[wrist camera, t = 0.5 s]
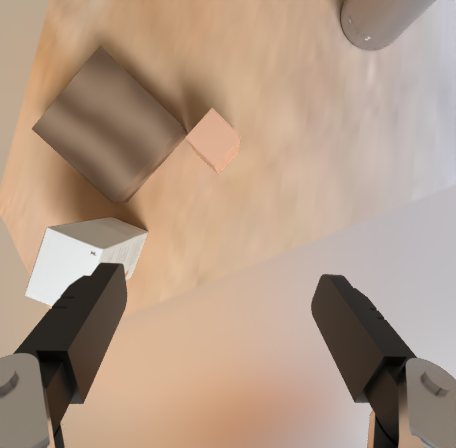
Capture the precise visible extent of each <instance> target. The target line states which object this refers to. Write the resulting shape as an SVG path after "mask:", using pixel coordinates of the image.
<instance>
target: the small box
mask: <svg viewBox="0 0 456 448" xmlns="http://www.w3.org/2000/svg"><path fill="white" fill-rule="evenodd" d="M147 235H148V231H145V230H143V229H140V228H138V227H136V226H133V225H131V224H128V223H126V222H123V221H121V220H118V219H116V218H114V217H108V218H101V219H94V220H88V221H82V222H76V223H70V224H64V225H57V226H51V227H47V228H46V231H45V234H44V237H43V240H42V243H41V246H40V249H39V253H38V256H37V259H36V262H35V265H34V268H33V271H32V274H31V277H30V280H29V283H28V286H27V290H26V292H25V295H26V296H28V297H31V298H33V299H35V300H38V301H40V302H43V303H45V304H48V305H50V306H53V305H54V303H55V302H56V301H57V300H58V299H60V296H61V295H62V294H63V292H64V291H65V290H66V289H67V287H68V286H69V285H70V284H72V283H73V282H75V281H76V280H77V279H79V278H80V277H82V276H83V275H87V276H91V274H92V273H93V271H94V270H95V269H96V267H97V266H98V265H99V264H100V263H101V262H104V263H122V264H123V265H124V270H125V279H126V280H127V279H129V278H130V277H131V276H132V274H133V272H134V269H135V267H136V264H137V261H138V259H139V256H140V253H141V251H142V248H143V245H144V243H145V240H146V237H147Z"/></svg>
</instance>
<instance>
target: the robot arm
mask: <svg viewBox="0 0 456 448" xmlns="http://www.w3.org/2000/svg"><path fill="white" fill-rule="evenodd" d="M435 1H436V0H345V1H344V4H343V6H342V11H341V23H342V28H343V31H344V33H345V35H346V36H347V38H348V39H349V40H350V41H351V42H352V43H353V44H354V45H356V46H358V47H359V48H362V49H366V50H376V49H381V48H383V47H386V46H388V45H389V44H390V43H392V42H393V41H394V40H395V39H396V38H397V37H398V36H399V35H400V34H401V33H403V32H404V31H405V30H406V29H407V28H408V27H409V26H410V25H411V24H412V23H413V22H414V21H415V20H416V19H417V18H418V17H419V16H420V15H421V14H422V13H423V12H424V11H425V10H426V9H427V8H428V7H430V6H431V5H432V4H433V3H434V2H435ZM126 302H127V288H126V279H125V270H124V265H123V264H122V263H104V262H101V263H100V264H99V265H98V266H97V267H96V269H95V270H94V271H93V273H92V274H91V276H87V275H83V276H82V277H80V278H79V279H77V280H76V281H75V282H73V283H72V284H70V285H69V286H68V287H67V289H66V290H65V291H64V292H63V294H62V295H61V296H60V299H58V300H57V301H56V302H55V303H54V305H53V306H52V309H50V310H49V311H48V312H47V313H46V314H45V316H44V317H43V318H42V320H41V321H40V322H39V323H38V324H37V326H36V327H35V328H34V329H33V331H32V332H31V333H30V334H29V335H28V337H27V338H26V339H25V340H24V342H23V343H22V344H21V345H20V346H19V348H18V349H17V350H16V351H15V352H14V353H13V354H12V355H8V356H5V357H2V358H0V448H67V445H66V439H65V434H64V429H63V423H62V418H63V416H64V414H65V412H66V410H67V408H68V406H69V404H83V403H84V401H85V399H86V396H87V394H88V392H89V390H90V387H91V385H92V383H93V381H94V378H95V376H96V374H97V371H98V369H99V367H100V365H101V362H102V360H103V358H104V356H105V353H106V351H107V349H108V346H109V344H110V342H111V339H112V337H113V335H114V333H115V330H116V328H117V326H118V324H119V321H120V319H121V317H122V315H123V312H124V310H125V307H126ZM311 310H312V315H313V318H314V320H315V321H316V323H317V326H318V328H319V330H320V332H321V334H322V336H323V338H324V340H325V342H326V344H327V346H328V348H329V351H330V352H331V355H332V357H333V359H334V361H335V363H336V365H337V367H338V369H339V371H340V373H341V375H342V377H343V379H344V381H345V383H346V385H347V387H348V390H349V392H350V394H351V396H352V398H353V400H354V402H355V403H365V402H367V403H370V405H371V407H372V409H373V410H372V412H371V414H370V418H369V419H370V420H369V431H368V444H367V448H456V380H455V379H454V378H453V377H452V376H451V375H450V374H449V373H448V372H446V371H445V370H444V369H442V368H441V367H439V366H438V365H436V364H434V363H432V362H430V361H427V360H424V359H421V358H417V357H416V356H415V355H414V353H413V352H412V351H411V350H410V348H409V347H408V346H407V345H406V344H405V342H404V341H403V340H402V339H401V337H400V336H399V335H398V334H397V333H396V331H395V330H394V329H393V328H392V327H391V326H390V324H389V323H388V322H387V320H384V317H383V316H382V315H381V313H380V312H379V311H377V310H376V307H375V306H374V305H373V304H372V302H371V301H370V300H369V299H368V297H366V296H365V295H364V294H362V293H361V292H360V291H358V290H357V289H356V288H353V287H352V286H351V284H350V283H349V282H348V281H347V279H346V278H345V277H344V276H342V275H329V274H324V275H322V276H321V278H320V280H319V283H318V286H317V289H316V291H315V294H314V297H313V300H312V304H311Z"/></svg>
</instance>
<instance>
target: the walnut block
mask: <svg viewBox="0 0 456 448" xmlns="http://www.w3.org/2000/svg"><path fill="white" fill-rule="evenodd" d="M32 130H34V131H35V132H36V133H37V134H38V135H39V136H40V137H41V138H42V139H43V140H44V141H46V142H47V143H48V144H49V145H50V146H51V147H52V148H53V149H54V150H55V151H56V152H58V153H59V154H60V155H61V156H62V157H63V158H64V159H65V160H66V161H67V162H68V163H70V164H71V165H72V166H73V167H74V168H75V169H76V170H77V171H78V172H79V173H80V174H82V175H83V176H84V177H85V178H86V179H87V180H88V181H89V182H90V183H91V184H92V185H94V186H95V187H96V188H97V189H98V190H99V191H100V192H101V193H102V194H103V195H104V196H106V197H107V198H108V199H109V200H110V201H111V202H128V200H129V199H130V198H131V197H132V196H133V195H134V194H135V193H136V192H137V190H138V189H139V188H140V187H141V186H142V185H143V184H144V183H145V182H146V180H147V179H148V178H149V177H150V176H151V175H152V174H153V173H154V172H155V170H156V169H157V168H158V167H159V166H160V165H161V164H162V163H163V162H164V161H165V159H166V158H167V157H168V156H169V155H170V154H171V153H172V152H173V151H174V149H175V148H176V147H177V146H178V145H179V144H180V143H181V142H182V141H183V139H184V138H185V137H186V136H187V135H188V134H187V132H186V131H185V129H184V128H183V126H182V125H181V124H180V123H179V122H178V121H177V120H176V119H175V118H174V117H173V116H172V115H171V114H170V113H169V112H168V111H167V110H166V109H165V108H164V107H163V106H162V105H161V104H160V103H159V102H158V101H157V100H156V99H155V98H154V97H152V96H151V95H150V94H149V93H148V92H147V91H146V90H145V89H144V88H143V87H142V86H141V85H140V84H139V83H138V82H137V81H136V80H135V79H134V78H133V77H132V76H131V75H130V74H129V73H128V72H127V71H126V70H125V69H124V68H123V67H122V66H121V65H120V64H119V63H117V62H116V61H115V60H114V59H113V58H112V57H111V56H110V55H109V54H108V53H107V52H106V51H105V50H104V49H103V48H102V47H101V46H99V48H98V49H97V50H96V51H95V53H94V54H93V55H92V56H91V57H90V59H89V60H88V61H87V62H86V63H85V65H84V66H83V67H82V68H81V69H80V71H79V72H78V73H77V74H76V76H75V77H74V78H73V79H72V80H71V82H70V83H69V84H68V85H67V86H66V88H65V89H64V90H63V91H62V93H61V94H60V95H59V96H58V97H57V99H56V100H55V101H54V102H53V103H52V105H51V106H50V107H49V108H48V109H47V111H46V112H45V113H44V114H43V116H42V117H41V118H40V119H39V120H38V122H37V123H36V124H35V125H34V126H33V128H32Z"/></svg>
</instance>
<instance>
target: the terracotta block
mask: <svg viewBox="0 0 456 448" xmlns="http://www.w3.org/2000/svg"><path fill="white" fill-rule="evenodd" d="M185 139H186V140H187V141H188V143H189V144H190V145H191V147H192V148H193V150H194V151H195V152H196V154H197V155H198V156H199V157H200V158H201V159H203V160H204V161H205V162H206V163H207V164H208V165H209V166H210V167H211V168H212V169H213V170H214V171H215V172H216V173H217V174H219V173H220V172H221V171H222V170H223V168H224V167H225V166H226V165H227V164H228V163H229V162H230V161H231V160H232V159H233V158H234V157H235V156H236V155H237V153H238V152H239V146H240V140H241V136H240V135H239V134H238V133H237V132H236V131H235V130H234V129H233V128H232V127H231V126H230V125H229V124H228V123H227V122H226V121H225V120H224V119H223V118H222V117H221V116H220V115H219V114H218V113H217V112H216V111H215V110H214V109H213V108H211V109H210V111H209V112H208V113H207V114H206V115H205V116H204V117H203V118H202V119H201V121H200V122H199V123H198V124H197V125H196V126H195V127H194V128H193V129H192V131H191V132H190V133H189V134H188V135H187V136H186V137H185Z"/></svg>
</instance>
